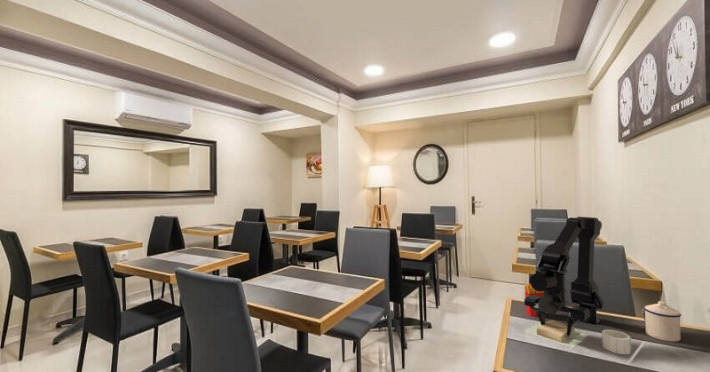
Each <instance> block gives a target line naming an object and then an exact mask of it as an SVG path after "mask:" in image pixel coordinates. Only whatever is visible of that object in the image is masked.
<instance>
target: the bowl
mask: <svg viewBox="0 0 710 372" xmlns="http://www.w3.org/2000/svg"><path fill="white" fill-rule="evenodd" d="M601 344H602V347H603V349H605V350H607V351H609V352H612V353H615V354H620V355H630V354H632V337H631V335H629V334H627V333H625V332H622V331H620V330H616V329H603V330H602V331H601Z"/></svg>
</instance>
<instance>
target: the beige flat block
mask: <svg viewBox="0 0 710 372" xmlns="http://www.w3.org/2000/svg"><path fill="white" fill-rule="evenodd" d="M567 324H568V323H564V322H560V321H556V320H553V319H550V320H548V321H547V322H546V323H545V324H544V325H542V326H540V327H539V328H537V335H540V336H543V337H546V338H549V339H552V340H555V341H558V342H562V341H564V340H565V339H566V338H568V337H569V336H570V335H571V334H573V333H574V331H575V326H574V327H573V329H572V331H571V333H570V335H569V336H567Z"/></svg>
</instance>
